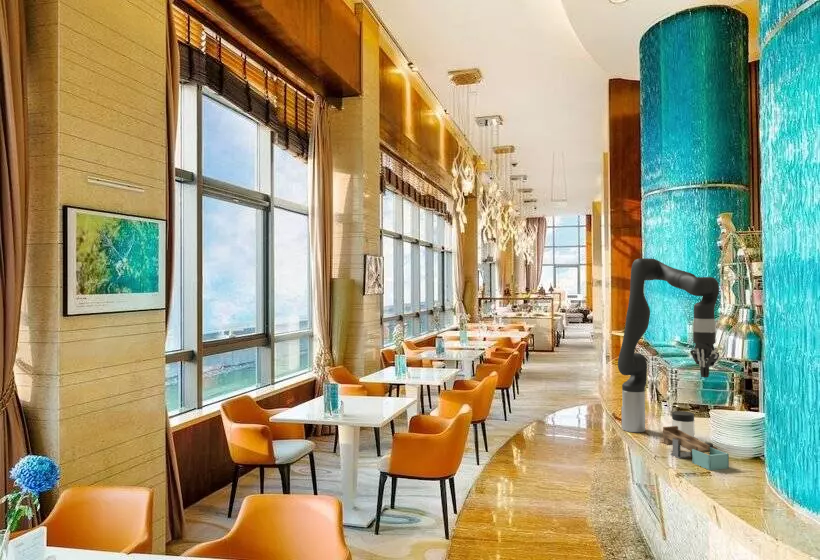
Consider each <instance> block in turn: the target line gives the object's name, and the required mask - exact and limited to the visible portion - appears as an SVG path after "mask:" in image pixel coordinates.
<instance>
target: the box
mask: <svg viewBox="0 0 820 560" xmlns="http://www.w3.org/2000/svg"><path fill="white" fill-rule="evenodd" d="M707 454H709V455H707ZM729 455H730V454H729V453H727V452H724V451H721V450H719V449H717V450H716V449H714V448H711V447H710V452H707V453H702V452H699V451H697V450H694V449H692V458H691V459H692V460H691V463H692V464H693V463H694V464H693V465H696V464H697V465H696V466H698V465H699V467H700V466H701V467H700V468H704V469H705V468H706V470H708V471H715V470H717V471H718V470H726V469H729V468H730V467H729V466H730V465H729V463H730V462H729V460H730V459H729Z"/></svg>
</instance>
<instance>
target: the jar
mask: <svg viewBox="0 0 820 560" xmlns="http://www.w3.org/2000/svg"><path fill="white" fill-rule="evenodd" d="M671 426H678V429H679V430H681V431H683V432H684V433H686V434H688V435H690V436H692V437H694V435H696V431H695V428H696V427H695V426H696V425H695V413H693V412H691V411H686V410H684V411H683V410H675V411H672V412H671Z"/></svg>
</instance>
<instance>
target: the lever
mask: <svg viewBox="0 0 820 560" xmlns="http://www.w3.org/2000/svg"><path fill="white" fill-rule="evenodd" d="M662 436H663V441H662V442H663V444H664V445H666V446H673V438H675V439H678V440H680V447H682V448H685V449H686V450H688V451H689V452H690V451H691V452H692V449H694V450H697V451H699V452H702V453H705V454H707V453H710V447H711V448H714V449H716V450H718V447H717V446H715V445H714V444H713V443H711V442H704V441H702V440H700V439H699V438H698V439H696V438H697V437H695V438H694V437H692V436H690V435H688V434H686V433H684V432H683V431H681V430H679V429H678V426H672V425H671V426H663V427H662Z"/></svg>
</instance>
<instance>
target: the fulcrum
mask: <svg viewBox="0 0 820 560" xmlns="http://www.w3.org/2000/svg"><path fill="white" fill-rule="evenodd" d="M694 438H696V439H698V440H699V438H698V437H694ZM670 456H672V457H674V456H675V458H677V459H679V460H682V459H690V458H689V457H692V452H691V451H690V450H689V451H683V452H681V445H680V440H678V439H675V438H673V445H672V453H670ZM681 458H682V459H681Z"/></svg>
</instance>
